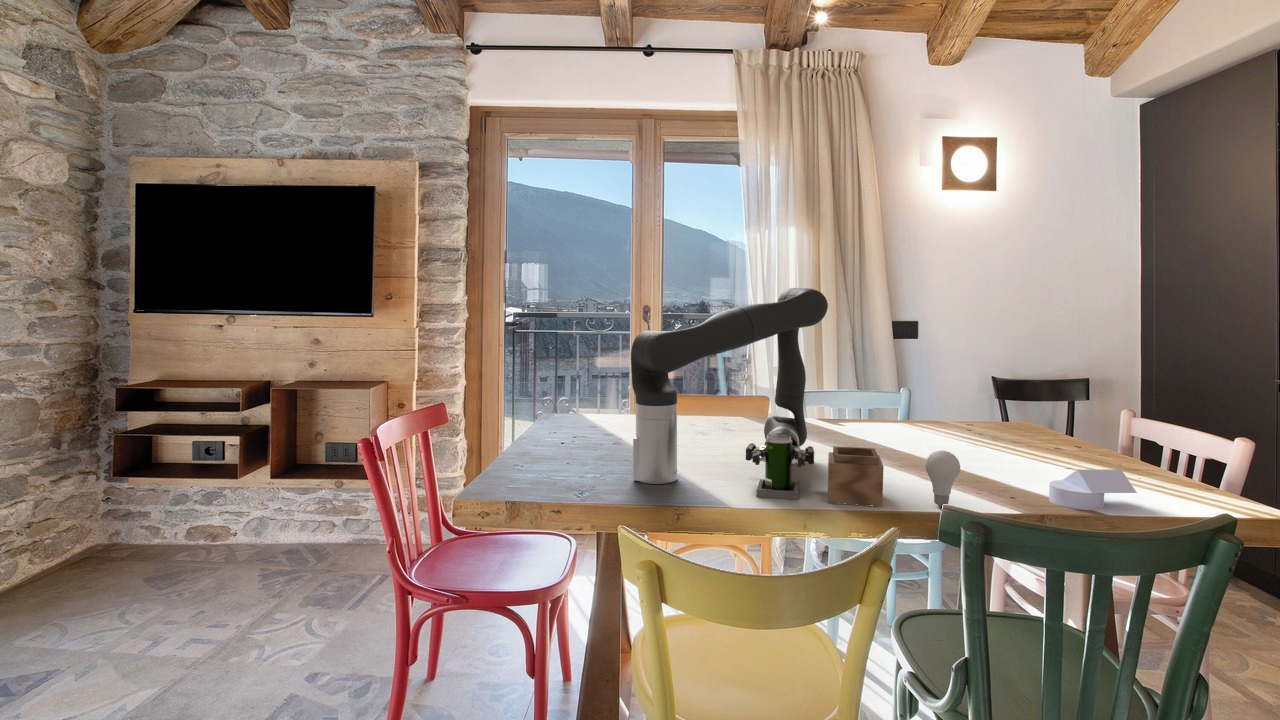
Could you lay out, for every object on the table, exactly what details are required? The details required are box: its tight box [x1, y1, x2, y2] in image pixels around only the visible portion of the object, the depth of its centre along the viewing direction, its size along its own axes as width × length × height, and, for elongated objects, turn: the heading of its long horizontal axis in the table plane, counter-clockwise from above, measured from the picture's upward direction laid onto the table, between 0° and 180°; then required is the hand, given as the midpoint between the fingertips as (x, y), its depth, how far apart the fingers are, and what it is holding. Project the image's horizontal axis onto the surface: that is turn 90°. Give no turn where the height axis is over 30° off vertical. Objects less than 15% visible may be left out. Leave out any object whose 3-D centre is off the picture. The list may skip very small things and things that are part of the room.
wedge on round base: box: [1048, 469, 1138, 511], centre depth 130 cm, size 9×7×13 cm
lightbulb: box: [924, 450, 961, 508], centre depth 128 cm, size 6×6×11 cm
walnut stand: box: [827, 445, 884, 507], centre depth 134 cm, size 10×10×10 cm
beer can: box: [764, 433, 793, 491], centre depth 138 cm, size 5×5×12 cm
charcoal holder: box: [756, 478, 800, 501], centre depth 138 cm, size 8×8×2 cm
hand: (778, 461), depth 136 cm, fingers open, 8 cm apart
